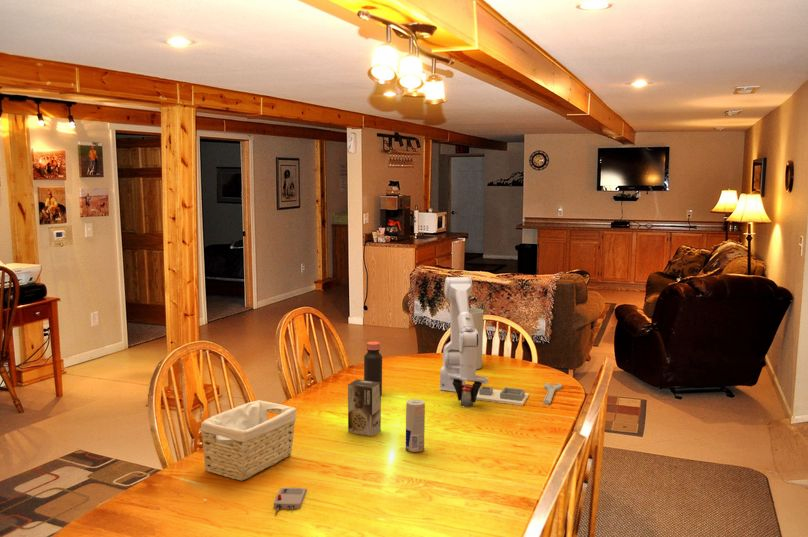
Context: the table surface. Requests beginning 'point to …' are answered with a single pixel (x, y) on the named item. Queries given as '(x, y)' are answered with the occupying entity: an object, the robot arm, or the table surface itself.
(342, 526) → the table surface
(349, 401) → the coffee box
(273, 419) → the storage basket
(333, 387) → the table surface
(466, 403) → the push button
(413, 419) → the beverage can
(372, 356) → the bottle
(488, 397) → the socket board
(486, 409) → the table surface
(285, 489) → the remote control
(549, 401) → the adjustable wrench
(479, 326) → the cylinder vase
